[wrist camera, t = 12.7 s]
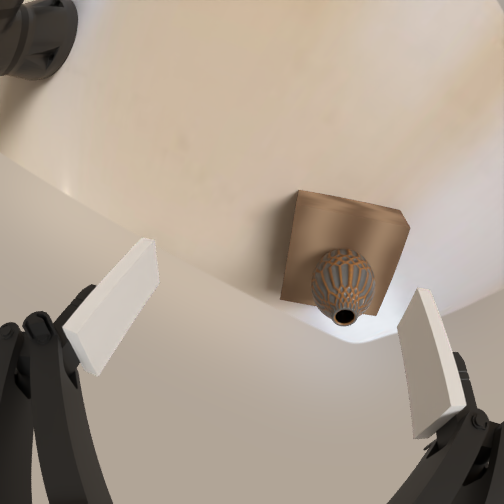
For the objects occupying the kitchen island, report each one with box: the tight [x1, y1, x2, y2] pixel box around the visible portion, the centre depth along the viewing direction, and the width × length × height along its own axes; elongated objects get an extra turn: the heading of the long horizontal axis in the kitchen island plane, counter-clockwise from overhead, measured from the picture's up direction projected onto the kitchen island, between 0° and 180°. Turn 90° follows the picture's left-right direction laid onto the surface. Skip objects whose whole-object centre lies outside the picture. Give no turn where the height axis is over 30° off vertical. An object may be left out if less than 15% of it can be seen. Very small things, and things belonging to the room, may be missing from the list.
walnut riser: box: [280, 190, 410, 316], centre depth 35 cm, size 13×13×5 cm
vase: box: [311, 249, 375, 326], centre depth 30 cm, size 7×7×9 cm
